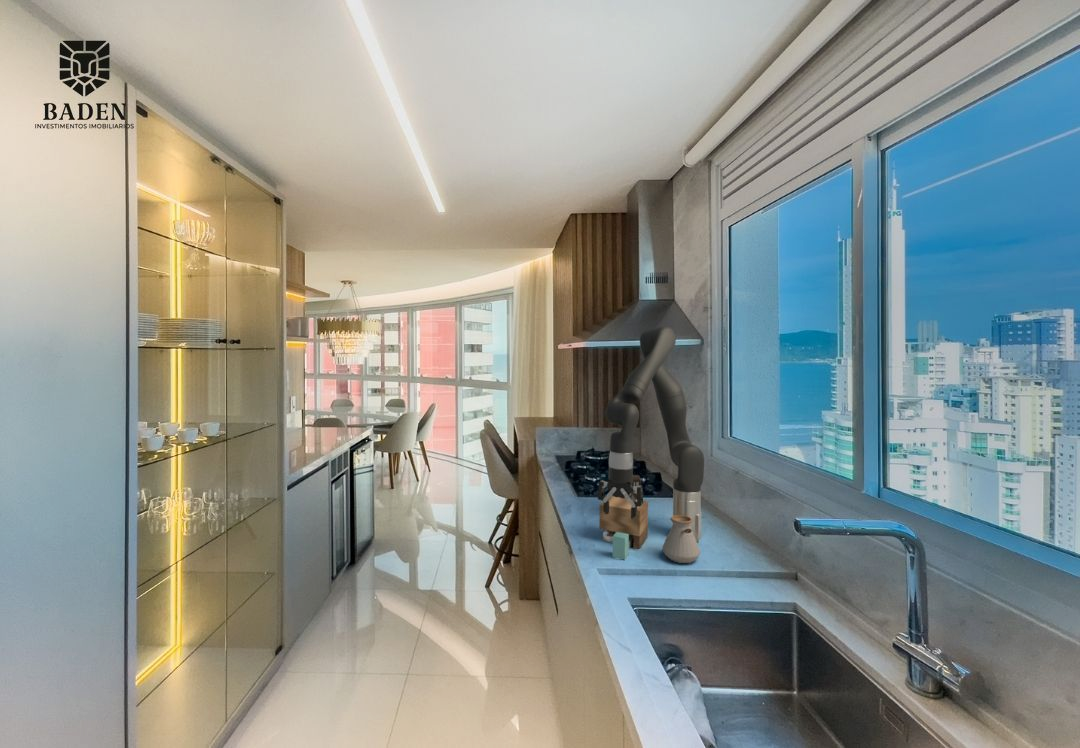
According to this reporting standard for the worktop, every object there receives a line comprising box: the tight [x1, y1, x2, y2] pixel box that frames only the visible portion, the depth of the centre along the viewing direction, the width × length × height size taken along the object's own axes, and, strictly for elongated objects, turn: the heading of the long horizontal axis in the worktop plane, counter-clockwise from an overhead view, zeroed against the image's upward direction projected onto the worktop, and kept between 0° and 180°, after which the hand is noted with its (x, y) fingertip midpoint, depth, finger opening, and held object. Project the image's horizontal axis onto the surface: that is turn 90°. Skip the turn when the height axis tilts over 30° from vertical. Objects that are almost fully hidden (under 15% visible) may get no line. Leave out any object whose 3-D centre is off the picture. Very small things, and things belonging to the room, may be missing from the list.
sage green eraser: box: [612, 532, 634, 561], centre depth 150 cm, size 4×16×7 cm, turn 153°
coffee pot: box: [662, 515, 701, 564], centre depth 138 cm, size 21×12×15 cm, turn 171°
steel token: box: [602, 530, 616, 544], centre depth 158 cm, size 5×5×2 cm
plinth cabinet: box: [598, 496, 649, 550], centre depth 158 cm, size 14×11×13 cm
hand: (619, 515), depth 145 cm, fingers open, 8 cm apart
